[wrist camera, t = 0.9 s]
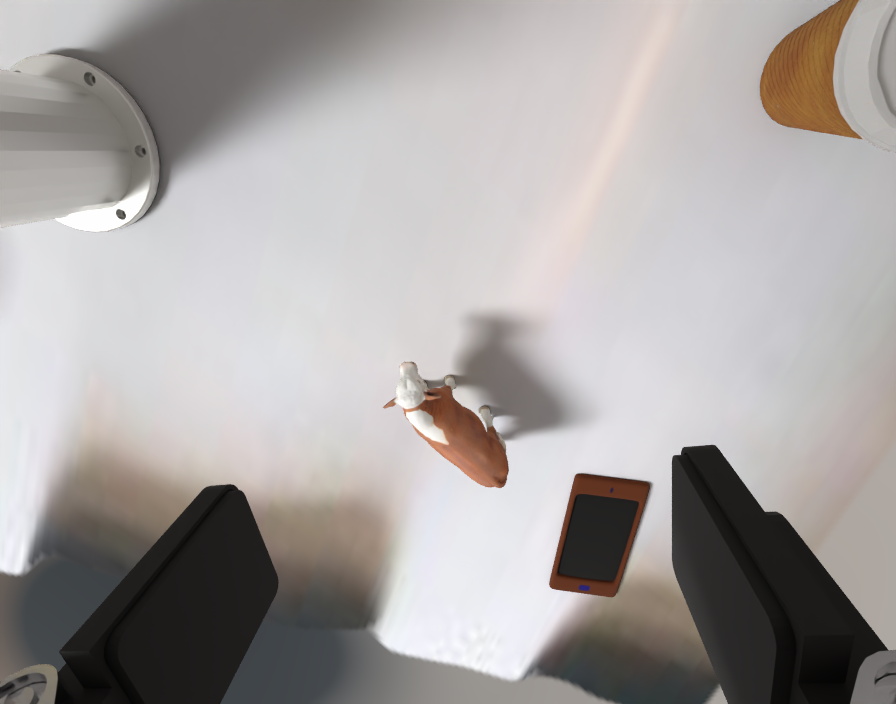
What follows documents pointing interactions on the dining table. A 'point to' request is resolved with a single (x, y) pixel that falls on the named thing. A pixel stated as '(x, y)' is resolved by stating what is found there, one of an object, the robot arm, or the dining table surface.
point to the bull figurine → (453, 427)
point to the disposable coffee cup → (838, 73)
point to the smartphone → (597, 534)
